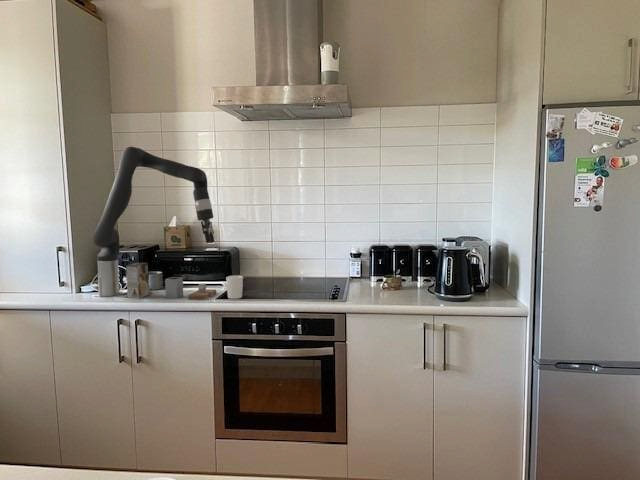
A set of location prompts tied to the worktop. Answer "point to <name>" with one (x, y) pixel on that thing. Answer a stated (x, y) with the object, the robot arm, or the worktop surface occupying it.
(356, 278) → the worktop surface
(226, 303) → the worktop surface
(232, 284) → the white cup
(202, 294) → the post block
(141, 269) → the coffee box
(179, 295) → the socket
